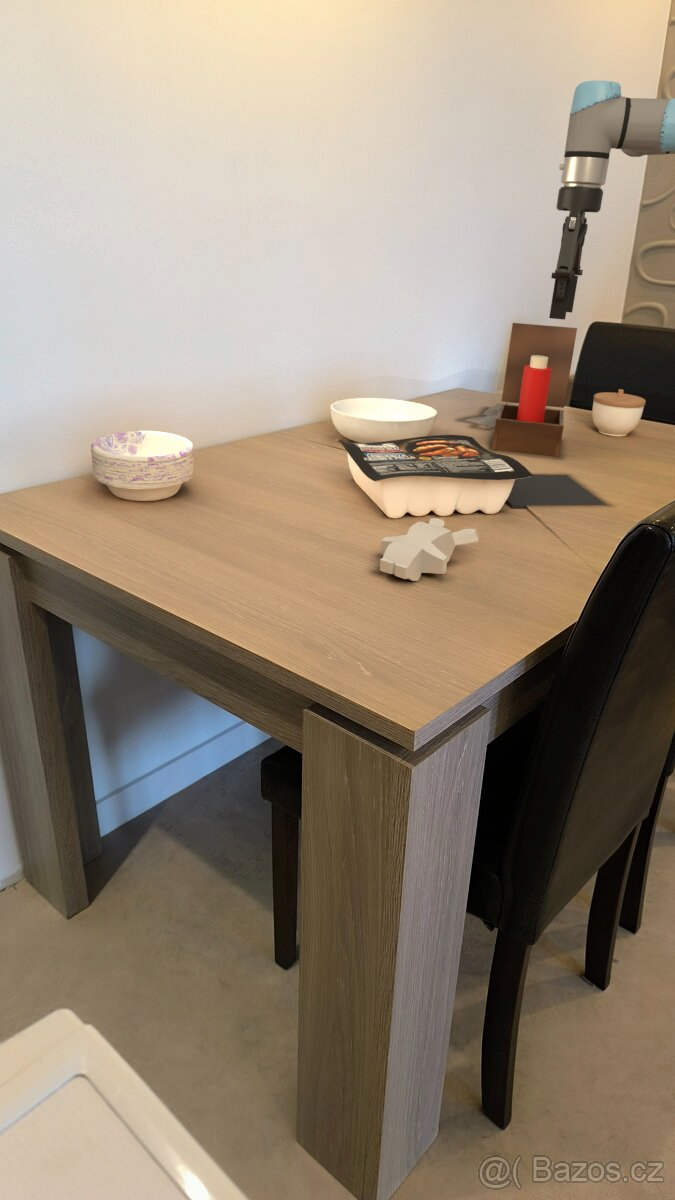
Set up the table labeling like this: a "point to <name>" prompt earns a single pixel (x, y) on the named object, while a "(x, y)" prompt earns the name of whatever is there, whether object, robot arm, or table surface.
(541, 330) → the chest lid
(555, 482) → the mat
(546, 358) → the ketchup
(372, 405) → the serving bowl
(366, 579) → the table surface
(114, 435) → the paper bowls
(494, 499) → the food packaging
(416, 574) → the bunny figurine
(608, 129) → the robot arm
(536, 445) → the chest
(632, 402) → the trinket box
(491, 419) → the cloth
